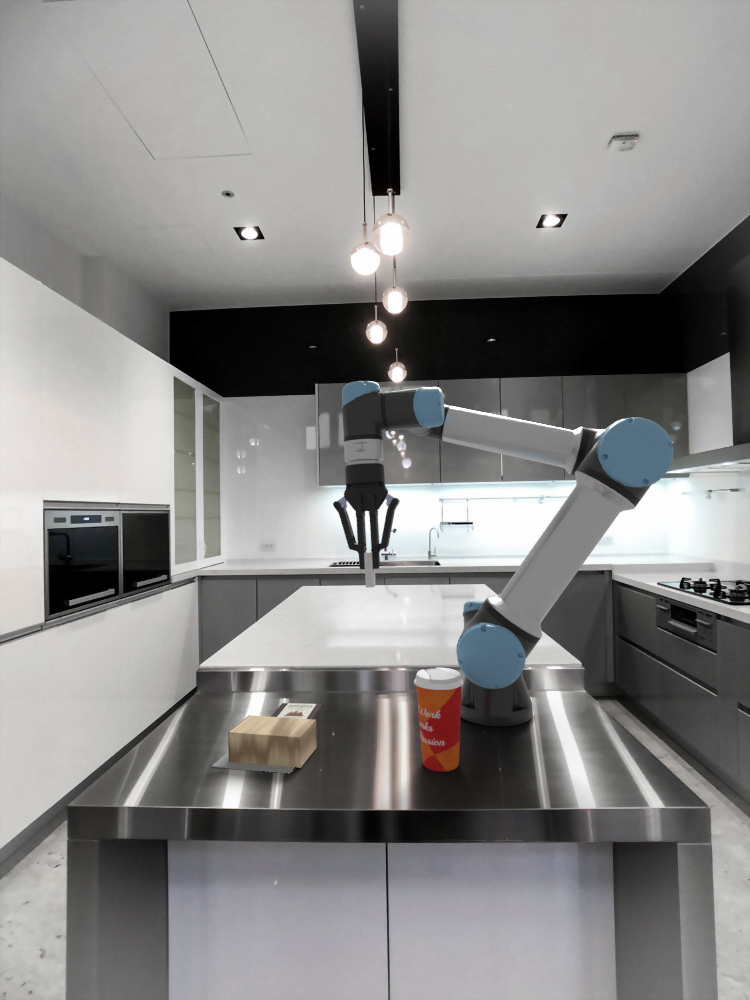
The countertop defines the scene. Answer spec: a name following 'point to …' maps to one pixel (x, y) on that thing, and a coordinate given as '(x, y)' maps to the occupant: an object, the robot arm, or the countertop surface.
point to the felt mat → (250, 766)
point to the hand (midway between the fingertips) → (370, 586)
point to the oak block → (272, 741)
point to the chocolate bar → (298, 710)
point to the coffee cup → (439, 717)
